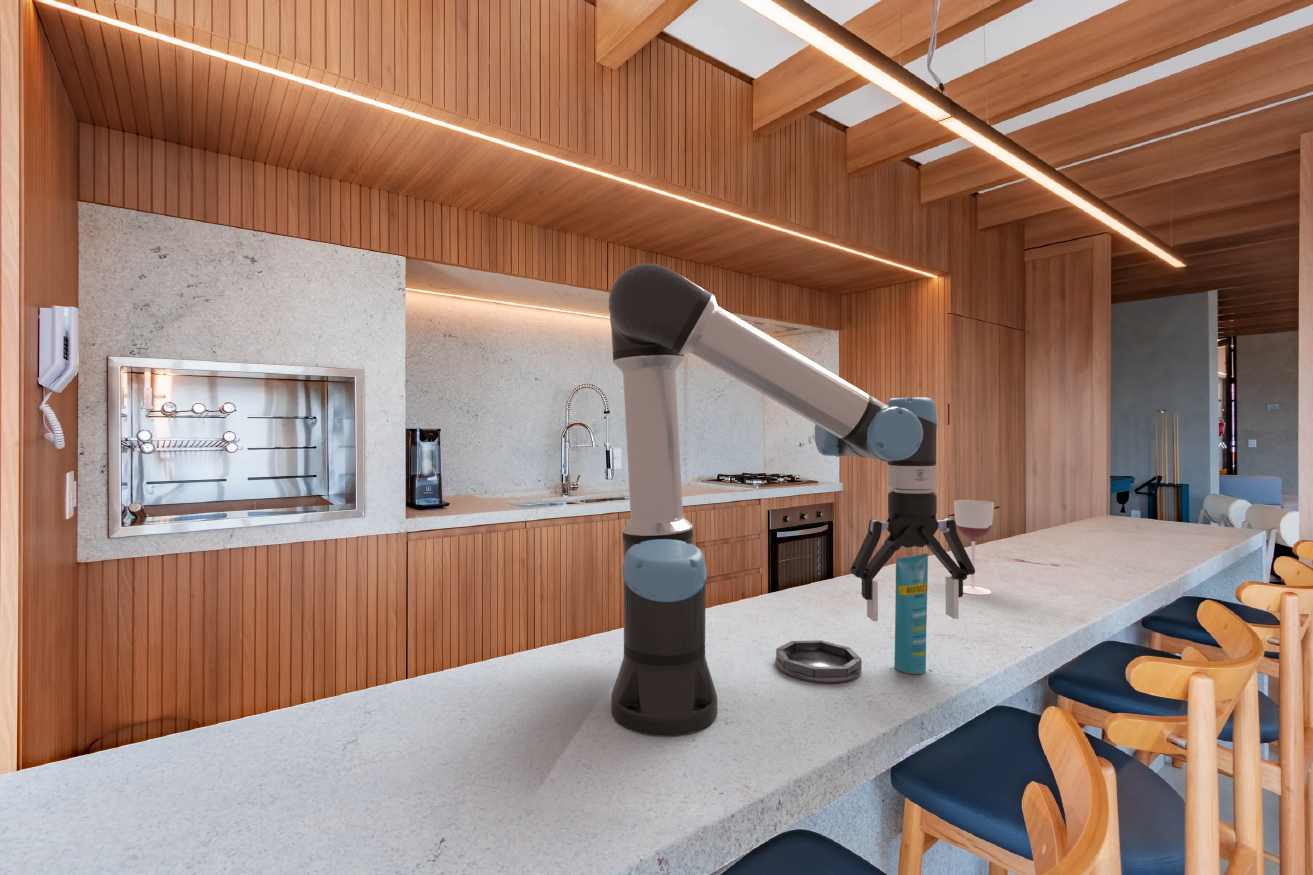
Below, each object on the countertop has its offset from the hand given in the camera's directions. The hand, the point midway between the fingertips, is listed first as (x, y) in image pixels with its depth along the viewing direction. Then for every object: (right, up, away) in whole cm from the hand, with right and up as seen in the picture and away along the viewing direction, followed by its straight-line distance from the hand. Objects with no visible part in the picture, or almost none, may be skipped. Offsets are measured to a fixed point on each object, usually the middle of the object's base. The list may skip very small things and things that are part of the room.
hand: (912, 617), depth 104 cm
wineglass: (+36, -8, +51) cm, 63 cm away
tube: (0, -9, 0) cm, 9 cm away
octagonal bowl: (-15, -9, +1) cm, 18 cm away
